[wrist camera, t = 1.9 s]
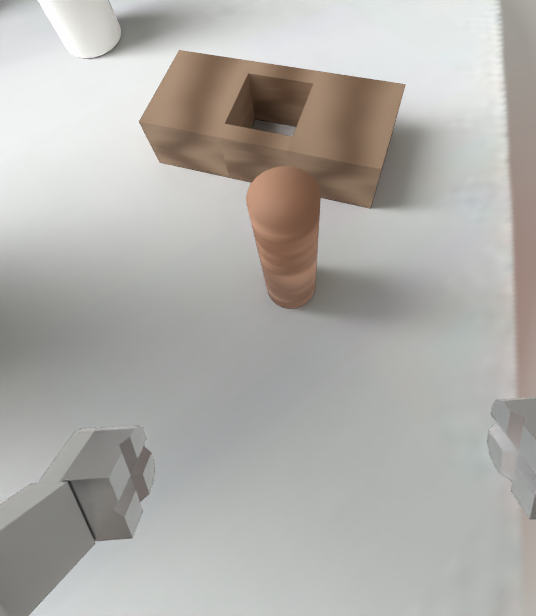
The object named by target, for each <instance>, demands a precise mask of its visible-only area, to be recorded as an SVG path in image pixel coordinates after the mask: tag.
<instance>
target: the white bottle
mask: <svg viewBox="0 0 536 616" xmlns="http://www.w3.org/2000/svg"><path fill="white" fill-rule="evenodd" d="M38 1H39V3H40V5H41V6H42V8H43V10H44V12H45V13H46V15H47V17H48V18H49V20H50V22H51V23H52V25H53V27H54V28H55V30H56V32H57V33H58V35H59V37H60V38H61V40H62V42H63V43H64V45H65V47H66V48H67V50H68V51H69V52H70V53H71V54H72V55H75V56H77V57H80V58H94V57H97V56H100V55H103V54H105V53H107V52H108V51H110V50H111V49H113V48H114V47H115V46H116V45H117V43H118V41H119V40H120V37H121V28H120V25H119V23H118V20H117V18H116V16H115V13H114V11H113V9H112V7H111V4H110V2H109V0H38Z"/></svg>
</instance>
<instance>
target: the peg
mask: <svg viewBox="0 0 536 616" xmlns="http://www.w3.org/2000/svg"><path fill="white" fill-rule="evenodd" d="M320 197H321V195H320V188H319V186H318V183H317V182H316V180H315V179H314V178H313V177H312V176H311V175H310V174H309V173H307V172H306V171H304V170H302V169H299V168H295V167H290V166H282V167H275V168H272V169H269V170H267V171H265V172H263V173H261V174H260V175H259V176H257V177H256V178H255V179H254V181H253V182H252V183H251V185H250V187H249V189H248V192H247V197H246V201H247V207H248V211H249V215H250V219H251V223H252V228H253V232H254V236H255V240H256V244H257V249H258V253H259V257H260V261H261V265H262V269H263V274H264V278H265V282H266V286H267V290H268V294H269V296H270V298H271V299H272V300H273V302H275V303H276V304H277V305H279V306H281V307H284V308H298V307H301V306H303V305H305V304H306V303H307V302H308V301H309V300H310V299H311V298H312V296H313V294H314V291H315V282H316V265H317V248H318V231H319V214H320Z"/></svg>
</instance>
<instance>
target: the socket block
mask: <svg viewBox="0 0 536 616" xmlns="http://www.w3.org/2000/svg"><path fill="white" fill-rule="evenodd" d="M405 85H406V84H400V83H393V82H386V81H380V80H373V79H367V78H360V77H353V76H347V75H340V74H334V73H327V72H320V71H314V70H307V69H301V68H294V67H287V66H281V65H274V64H268V63H261V62H254V61H248V60H241V59H235V58H228V57H221V56H215V55H208V54H202V53H195V52H188V51H182V50H179V51H178V53H177V55H176V57H175V58H174V60H173V62H172V64H171V66H170V67H169V69H168V71H167V73H166V74H165V76H164V78H163V80H162V82H161V83H160V85H159V87H158V89H157V90H156V92H155V94H154V96H153V98H152V99H151V101H150V103H149V105H148V106H147V108H146V110H145V112H144V113H143V115H142V117H141V119H140V121H139V123H140V125H141V127H142V129H143V131H144V133H145V135H146V137H147V139H148V141H149V143H150V145H151V146H152V148H153V150H154V152H155V154H156V156H157V158H158V160H159V162H160V163H165V164H169V165H174V166H178V167H183V168H188V169H192V170H197V171H201V172H206V173H211V174H215V175H220V176H224V177H229V178H233V179H238V180H243V181H247V182H253V181H254V179H255V178H256V177H257V176H259V175H260V174H261V173H263V172H265V171H267V170H269V169H272V168H275V167H282V166H290V167H295V168H299V169H302V170H304V171H306V172H307V173H309V174H310V175H311V176H312V177H313V178H314V179H315V180H316V182H317V183H318V186H319V188H320V195H321V198H325V199H330V200H334V201H339V202H344V203H348V204H353V205H357V206H362V207H366V208H371V205H372V202H373V198H374V195H375V191H376V188H377V184H378V181H379V177H380V174H381V170H382V167H383V163H384V160H385V156H386V153H387V150H388V146H389V143H390V139H391V136H392V132H393V129H394V125H395V121H396V118H397V114H398V110H399V107H400V103H401V99H402V96H403V92H404V88H405ZM255 119H258V120H264V121H269V122H275V123H280V124H286V125H291V126H297V127H296V129H295V132H294V134H293V137H292V136H287V135H282V134H276V133H271V132H266V131H260V130H255V129H251V128H252V125H253V123H254V121H255Z"/></svg>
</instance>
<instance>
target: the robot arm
mask: <svg viewBox="0 0 536 616" xmlns="http://www.w3.org/2000/svg"><path fill="white" fill-rule="evenodd" d="M491 416H492V417H493V418H494V420H495V421H496V423H495V424H494V425H493V426H492V427H491V428H490V429H489V430H488V439H487V444H488V449H489V454H490V457H491V459H492V461H493V464H494V466H495V467H496V469H497V470H498V472H499V473H500V474H501V475H503V476H504V477H506V478H507V479H509V480H511V481H512V488H511V492H512V493H513V495H514V497H515V498H516V500H517V501H518V503H519V504H520V506H521V507H522V509H523V510H524V512H525V513H526V515H527V516H528V518H529V519H536V397H526V398H513V399H500V400H495V402H494V403H493V405H492V410H491ZM146 439H147V437H146V434H145V432H144V429H143V427H140V426H119V427H100V428H85V429H79V430H77V431H75V432H74V433H73V434H72V436H71V437H70V439H69V440H68V441H67V443H66V444H65V446H64V447H63V448H62V450H61V451H60V453H59V454H58V455H57V457H56V458H55V460H54V461H53V462H52V464H51V465H50V467H49V468H48V469H47V471H46V472H45V473H44V475H43V476H42V478H41V479H40V480H39V482H38V483H34V484H30V485H28V486H27V487H25V488H24V489H22V490H21V491H19V492H18V493H16V494H15V495H13V496H12V497H11V498H9V499H8V500H6V501H5V502H3V503H2V504H0V616H29V614H30V613H31V612H32V611H33V610H34V609H35V608H36V607H37V606H38V605H39V604H40V603H41V602H42V600H43V599H44V598H45V597H46V596H47V595H48V594H49V593H50V592H51V591H52V590H53V589H54V588H55V586H56V585H57V584H58V583H59V582H60V581H61V580H62V579H63V578H64V577H65V576H66V575H67V574H68V572H69V571H70V570H71V569H72V568H73V567H74V566H75V565H76V564H77V563H78V562H79V561H80V560H81V559H82V557H83V556H84V555H85V554H86V553H87V552H88V551H89V550H90V549H91V548H92V547H93V546H94V545H95V541H105V540H118V539H130V538H133V536H134V533H135V531H136V528H137V525H138V523H139V520H140V518H141V515H142V512H143V509H142V506H141V504H140V502H141V501H142V500H143V499H144V498H145V497H146V496H148V495H149V494H150V491H151V488H152V485H153V481H154V473H155V467H154V459H153V456H152V453H151V452H150V451H149V450H148V449H146V448H145V447H144V444H145V442H146Z"/></svg>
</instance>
